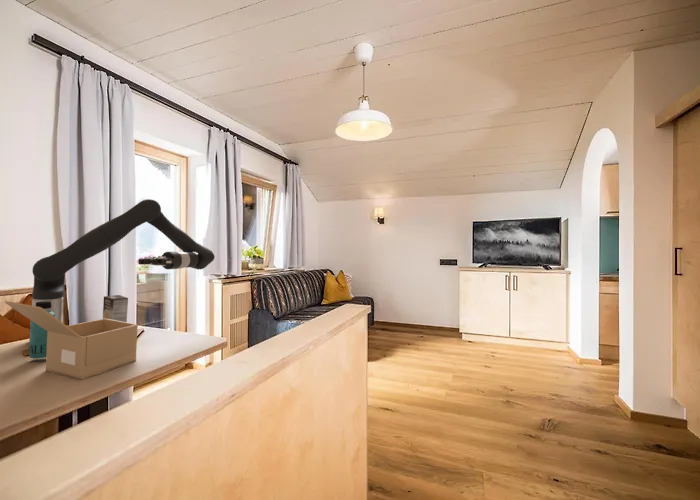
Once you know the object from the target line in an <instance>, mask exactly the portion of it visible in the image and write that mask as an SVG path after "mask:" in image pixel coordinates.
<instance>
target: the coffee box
mask: <svg viewBox="0 0 700 500" xmlns="http://www.w3.org/2000/svg"><path fill="white" fill-rule="evenodd" d="M128 304H129V297H126V296H124V295H120V294H117V295H105V296H103V307H102V319H111V320H117V321H122V322H128Z"/></svg>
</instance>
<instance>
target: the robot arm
mask: <svg viewBox="0 0 700 500" xmlns="http://www.w3.org/2000/svg"><path fill="white" fill-rule="evenodd" d="M145 223H148V224H149V225H151V226H152V227H154V228H155V229H157V230H158V231H160V233H162V234H164V236H165V237H166V238H167V239H168V240H170V241H171V242H172V243H173V244H174V245H175V246H176V247H177V248H178V249H180V250H181V251H165V252H163V254H162V255H156V256H146V257H144V258H138V260H137V261H138V262H137V263H138V265H140V266H141V265H150V266H155V267H156V266H161V267H162V268H164V269H165V270H178V269H180V270H181V269H185V268H191V269H195V270H204V269H205V268H206V267H207V266H209V265H210V264H211V263H212V262H213V261H214V260H215V257H216V256H215V254H214V252H213V251H212V250H210V249H209V248H208V247H205V246H204V245H202V244H200V243H198V242H196V241H195V240H194V239H193V238H192V237H191V236H190V235H189V234H187V232H185V231H184V230H182V229H181V228H179V227H178V226H176V225H175V224H174V223H172V222H171V221H170V220H169V219H168V218H167V217H166V216H165V215H164V213H163V212H162V207H161V204H160V203H159V202H158V201H157V200H155V199H152V198H151V199H150V198H147V199H143V200H141V201H139V202H138V203H137V204H135V205H134V206H133V207H131V208H130V209H128V210H127V211H126V212H123V213H122V214H120V215H118V216H117V217H113V218H112V219H110V220H108V221H106V222H104V223H103V224H100V225H98V226H96V227H95V228H93V229H91V230H89V231H88V232H86V233H84V234H83V235H82V236H80V237H79V238H78V239H76V240H75V241H74V242H73V243H71V244H70V245H68V246H67V247H65V248H63V249H61V250H60V251H57V252H55V253H53V254H52V255H49V256H46V257H42V258H40V259H39V260H37V261H36V262H35V263H34V265H33V266H32V269H31V270H32V274H33V289H32V293H31V294H32V296H31V306H36V302H41V301H50V302H51V306H52V307H51V308H48V309H44V310H46V311H52V312H53V313H55V318H57V319H58V320H59V321H61V322H62V323H63V319H64V318H63V317H64V295H65V293H64V292H65V285H66V284H65V282H66V273H68V272H69V271H70V270H71V269H73V268H74V267H76V266H77V265H78V264H80V263H82V262H84V261H86V260H87V259H90V258H92V257H94V256H96V255H99V254H100V253H103V251H106V250H107V249H109V248H111V247H112V246H114V245H115V244H117V243H118V242H120V241H121V240H123V239H124V238H125V237H126V236H127V235H129V233H131V232H132V231H133V230H135V229H136V228H138V227H139V226H141V225H143V224H145ZM29 323H30V325H31V322H29Z"/></svg>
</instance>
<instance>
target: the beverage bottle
mask: <svg viewBox="0 0 700 500" xmlns="http://www.w3.org/2000/svg"><path fill="white" fill-rule="evenodd" d="M36 306H37V307H41V308H43V309H48V308H51V307H52V306H51V302H50V301H41V302H36ZM47 312H48V313H50V314H51V315H53V316H54V317H55V313H53V312H52V311H47ZM30 323H31V325H30V326H29V338H28V341H29V345H28V356H29V358H30V359H37V360H38V359H45V358H46V355H47V331H46V330H45V329H43V328H42V327H40V326H39V325H37V324H36V323H34V322H33V321H31V320H30Z"/></svg>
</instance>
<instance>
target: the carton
mask: <svg viewBox="0 0 700 500" xmlns="http://www.w3.org/2000/svg"><path fill="white" fill-rule="evenodd" d="M67 326H68V327H69V328H71V329H72V330H73V331H75V332H76V333H77V334H79V335H80V336H81V337H80V338H79V337H74V336H69V335H64V334H60V333H55V332H50V331H47V355H46V357H45V358H46V362H45V363H46V364H45V371H46V372H48V373H49V372H50V373H52V374H53V373H54V374H57V375H62V376H64V377H67V378H68V377H69V378H72V379H76V380H79V379H80V380H79V381H82V380H85V378H86V379H89V378H92V377H94V375H95V376H97V374H98V375H100V373H101V374H103V373H105V372H109V371H112V370H114V369H118V368H121V367H124V366H126V365H129V364H132V363H135V362H137V344H138V342H137V341H138V324H137V323H132V322H128V321H127V322H122V321H117V320H111V319H103V318H100V319H94V320H89V321H85V322H81V323H80V322H79V323H74V324H70V325H67ZM91 376H92V377H91ZM88 377H89V378H88Z"/></svg>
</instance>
